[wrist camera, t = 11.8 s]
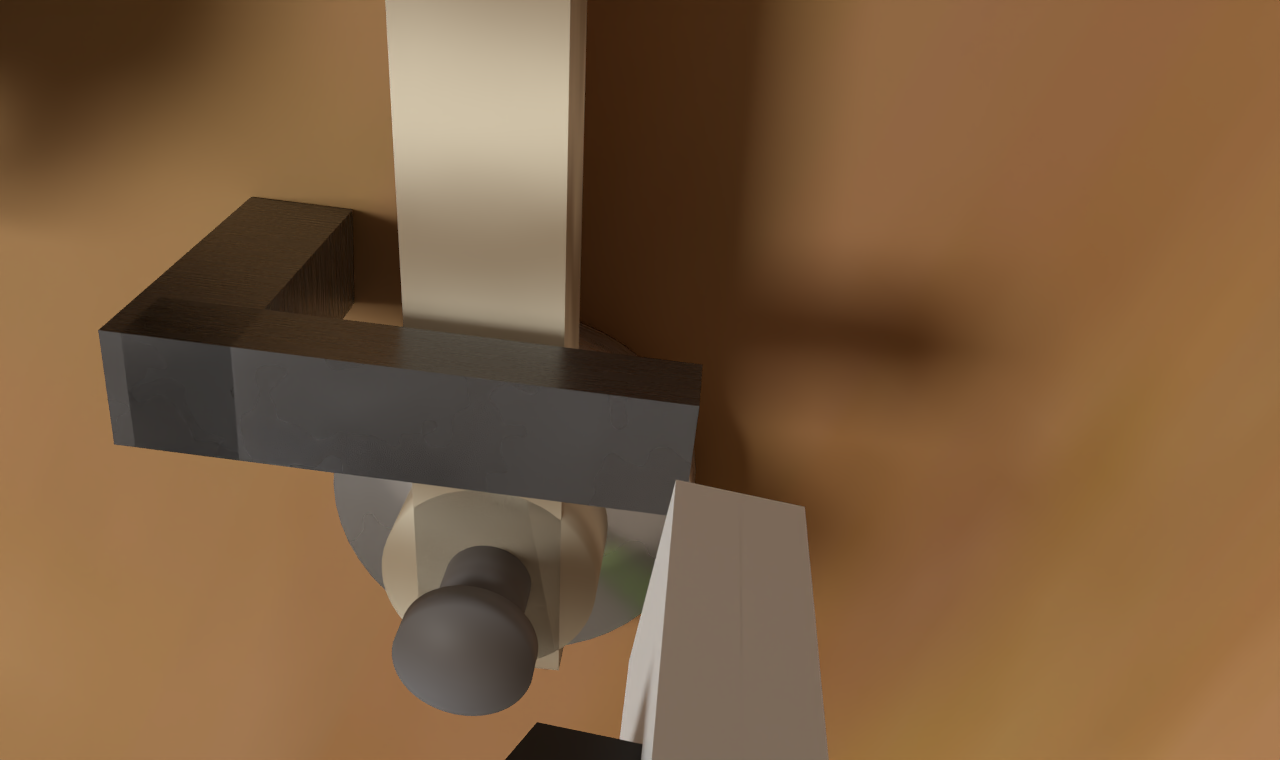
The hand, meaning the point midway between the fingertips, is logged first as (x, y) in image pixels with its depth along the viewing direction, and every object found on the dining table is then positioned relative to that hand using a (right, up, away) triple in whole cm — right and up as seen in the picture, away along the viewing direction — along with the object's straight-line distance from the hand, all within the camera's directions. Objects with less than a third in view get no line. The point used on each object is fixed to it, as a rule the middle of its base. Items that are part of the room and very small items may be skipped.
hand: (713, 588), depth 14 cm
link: (-4, +7, +17) cm, 19 cm away
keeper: (-6, +6, +21) cm, 22 cm away
